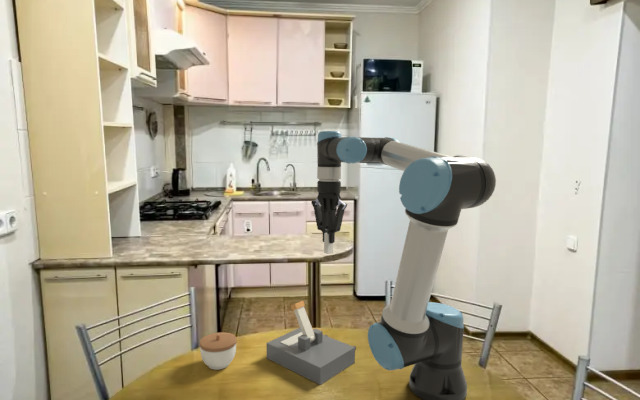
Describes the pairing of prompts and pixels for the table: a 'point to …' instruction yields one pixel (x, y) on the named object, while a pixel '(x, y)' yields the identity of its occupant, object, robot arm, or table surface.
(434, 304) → the robot arm
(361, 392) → the table surface
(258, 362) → the table surface
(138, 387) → the table surface
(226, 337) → the lidded jar
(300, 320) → the breaker lever
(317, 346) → the breaker box
